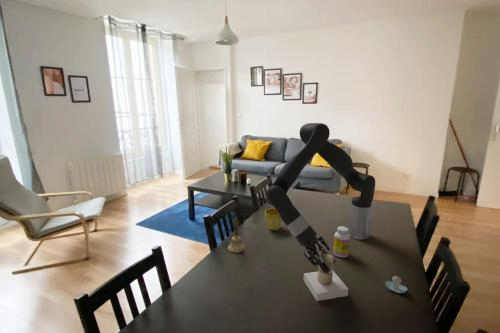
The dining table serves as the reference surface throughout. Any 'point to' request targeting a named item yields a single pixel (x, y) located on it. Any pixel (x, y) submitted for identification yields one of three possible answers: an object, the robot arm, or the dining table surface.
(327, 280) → the birch post
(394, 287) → the pacifier
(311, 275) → the plinth
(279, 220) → the plant pot
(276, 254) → the dining table surface
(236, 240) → the hand bell
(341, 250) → the supplement bottle
